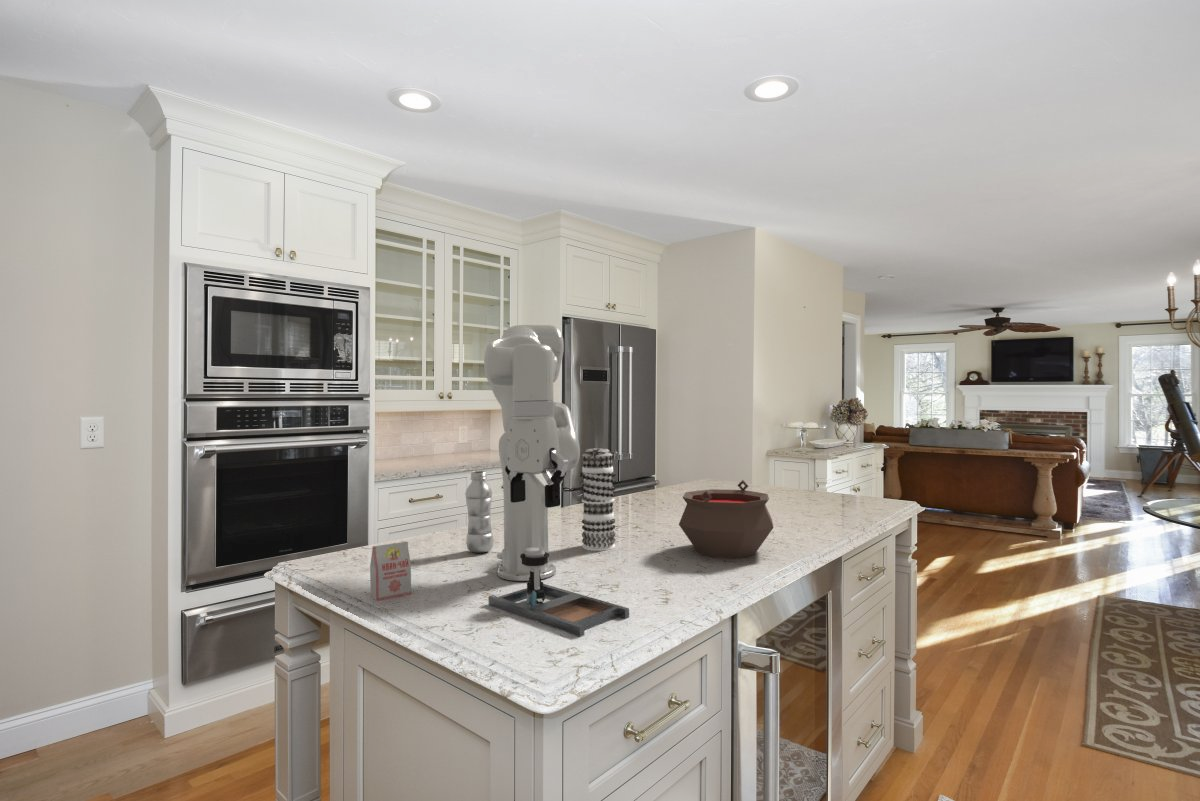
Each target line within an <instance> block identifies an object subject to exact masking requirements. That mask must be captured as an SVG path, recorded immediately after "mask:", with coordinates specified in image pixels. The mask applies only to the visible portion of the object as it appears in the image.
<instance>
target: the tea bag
mask: <svg viewBox="0 0 1200 801" xmlns="http://www.w3.org/2000/svg"><path fill="white" fill-rule="evenodd" d="M411 565H412V562H411V557H410V550H409V542H408V541H400V542H394V543H389V544H388V543H387V544H382V545H381V544H380V545H374V546H372V550H371V557H370V565H369V572H370V573H369V575H370V576H369V577H370V581H369V582H370V584H369V585H370V597H371V598H373V599H374V600H375V601H378V602H379V601H381V600H387V599H388V600H389V599H392V598H397V597H401V596H407V595H411V594H412V566H411Z"/></svg>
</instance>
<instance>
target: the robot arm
mask: <svg viewBox="0 0 1200 801" xmlns="http://www.w3.org/2000/svg"><path fill="white" fill-rule="evenodd" d="M564 344H565V343H564V337H563V334H562V332H561V330H560V328H558V327H556V326H554V325H551V324H547V325H546V324H541V325H540V324H539V325H538V324H517V325H513V326H510V327H508V328H507V329H506V330H505V331H504V332H503V334H502V336H501V338H499V339H494V340H492V341H490V342H489V343H488V344H487V346H486V348H485V350H484V355H483V356H484V358H483V365H484V368H483V369H484V373H485V374H484V375H485V377H486V379H487V381H488V382H489V384H490V387H491V391H492V394H493V395H494V398H495V399H496V400H497V402H498V404H499V405H500V407H501V408H500V409H501V416H502V417H501V418H502V427H503V433H502V435H501V436H500V438H499V441H498V454H499V461H500V467H501V476H502V488H503V491H502V492H503V544H504V545H503V546H504V547H503V549H502V550H501V552H498V553H497V554H496V558H497V559H499V560H502V565H500V566H499V567H498V569H497V576H498V577H499V578H501V579H503V580H508V581H512V582H513V581H515V582H529V577H530V568H529V567H526V566H525V565H523V564H522V559H521V558H520V555H521V554H522V553H525V549H527V548H531V547H541V548H544V552H547V553H549V508H555V507H559V506H561V485H562V483H563V482H564V478H565V477H566V475H567V471H570V470H572V469H574V468H575V467H576V466H577V465H578V463H579V460H580V457H581V449H580V448H581V447H580V442H579V441H580V440H579V437H578V434H577V431H576V430H577V429H576V426H575V423H574V419H573V415H572V412H571V409H570V408H569V407H568V406H567V405H566V404H565V403H563V402H555V401H554V383H555V382H556V381H557V380H558V378H559V374H560V369H561V365H562V362H563V357H564V351H565V350H564ZM540 474H541V475H542V476H543V477H542V478H544V480H545V482H546V483H547V484H545V485H544V483H542V481H540V479H539V478H538V477H537V476H536V475H540ZM551 474H552V475H551ZM549 560H550V559H549V557H548V563H546V564H544V566H542V567H540V569H539V570H540V577H541V580H544V579H547V578H549V577H550V578H551V577H552V576H554V575H555V574H556V572H557V568H556V566H555V564H553V563H551V562H550V561H549Z"/></svg>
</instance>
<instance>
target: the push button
mask: <svg viewBox="0 0 1200 801" xmlns="http://www.w3.org/2000/svg"><path fill="white" fill-rule="evenodd" d="M549 557H550V553H549V552H548V553H547V552H544V548H541V547H531V548H527V549H525V553H522V554H521V555H520V558H521V559H522V564H523V565H525V566H526V567H529V568H530V577H529V581H528V582H526V588H527V592H528V594H527V598H526V603H527V604H529V603H530V605H531V607H532V606H535V605H538V604H541V603H544V602H545V600H546V598H545V597H546V596H545V595H546V594H545V592H544V590H543V584H544V581H542V579H541V577H540V570H539V569H540V567H542V566H544V564H546V563H548V558H549Z"/></svg>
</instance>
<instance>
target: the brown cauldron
mask: <svg viewBox="0 0 1200 801" xmlns="http://www.w3.org/2000/svg"><path fill="white" fill-rule="evenodd" d="M742 485H744V487H743V486H742ZM737 487H738V489H718V488H717V489H713V488H711V489H701V490H694V491H692V490H691V491H686V492H685V493H684V494H683V496H682V499H683V500H684V502H685V503H686V504H685V505H686V506H685V507H684V510H683V513H682V514H681V518H680V520H679V523H678V526H679V527H680V529H681V530H682V532H683V533H684V534H685V536H686V537H687V539H688V540H689V541H690V544H692V546H693V547H694V549H695V550H696V552H697V553H698V554H702V555H705V556H708V557H711V558H716V559H717V558H719V559H720V558H721V559H722V558H723V559H724V558H725V559H741V558H747V557H751V556H755V555H756V553H757V552H758V550H759V549H760V547H761V546H762V544H763V543H764V542H765V541H766V539H767V538H768V536H769V534H771V532H772V531H773V529H774V522H773V518H772V516H771V514H770V512H769V509H768V507H767V505H766V504H767V503H768V501H769V500H770V497H769V494H768V493H763V492H758V491H753V490H746V489H747V488H749V485H748V484H747V483H746V482H745V480H744V479H742V480H741V481H740V482H739V483H738V484H737Z"/></svg>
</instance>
